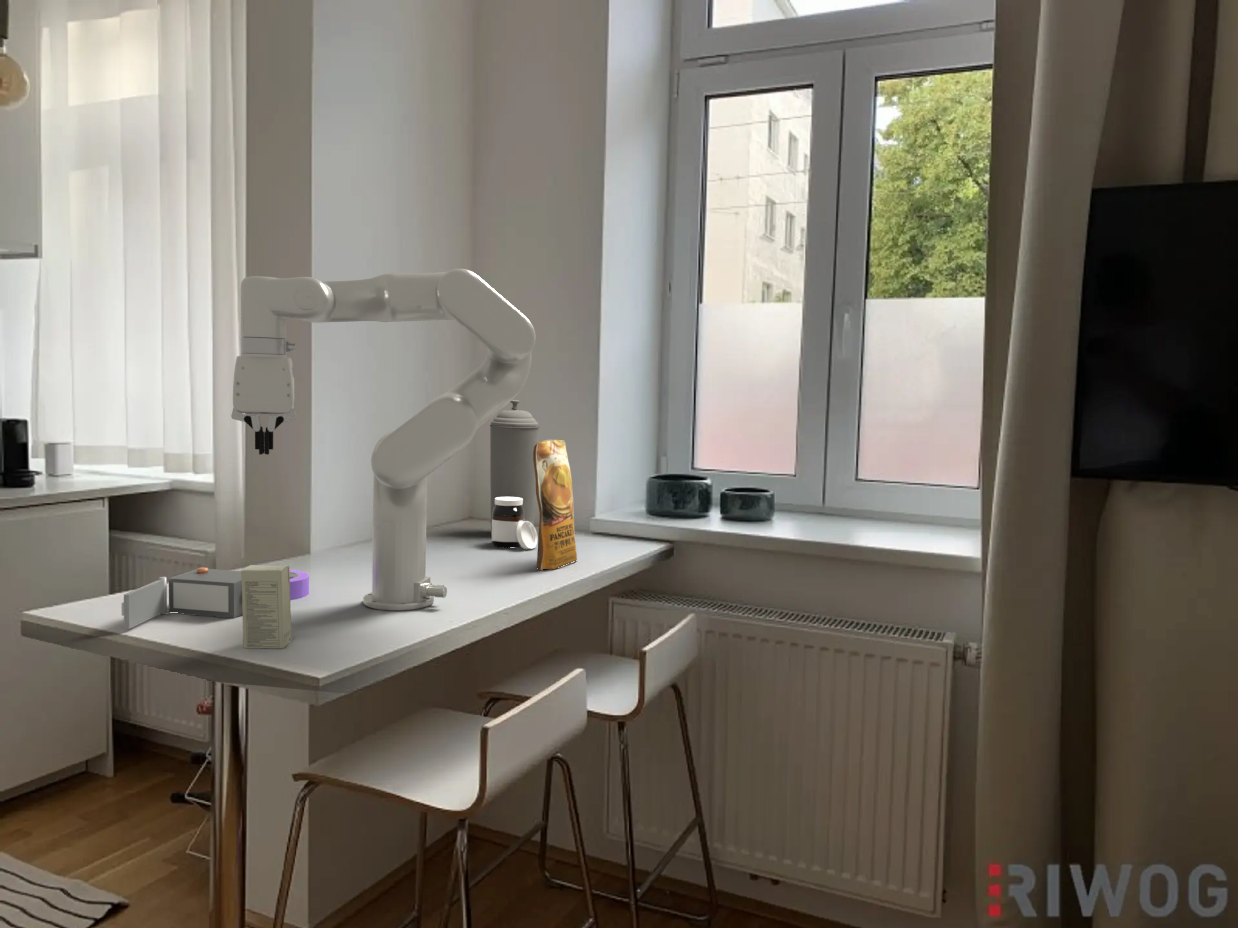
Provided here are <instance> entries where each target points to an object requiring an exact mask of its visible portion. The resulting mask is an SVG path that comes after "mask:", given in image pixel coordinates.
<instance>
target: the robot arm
mask: <svg viewBox="0 0 1238 928" xmlns="http://www.w3.org/2000/svg"><path fill="white" fill-rule="evenodd" d="M288 318H289V319H295V320H301V321H304V322H308V323H317V324H318V323H321V324H323V323H347V322H352V323H353V322H380V323H397V322H399V323H400V322H417V321H418V322H421V321H423V322H425V321H426V322H427V321H429V322H430V321H456V322H457V323H458V324H459V325H460V326H461V327H462V328H464V329H465V330H466V331H467V332H469V334H471V335H472V336H473V337H474V338H475V339H476V340H478V341H479V342H480V343H481V344H482V345H484V346H485V347H486V349H487V353H486V356H485V358H484V361H483V362H482V363H481V364H480V365H479V366H478V367H477V368H475V369H474V370H473V371H472V372H470V373H469V374H468V375H467V376H466V377H465V378H464V379H463V380H461V381H459V382H458V383H456V384H455V385H454V386H453V387H452V388H449V389H448V390H447V391H446V392H444V393H442V394H441V395H439V396H436V397H435V398H433V399H432V400H431V401H430V402H429V403H428V404H427V405H426V406H425V407H424V408H423V409H421V410H420V411H419V412H417V413H416V414H414V415H413V416H411V417H410V418H409V419H408V420H407V421H405V422H404V423H402V425H400V426H399V427H397V428H396V429H395V430H392V431H389V432H387V433H385V434H384V435H383V436H381V437H380V438H379V440H378V441H377V442H376V444H375V446H374V448H373V450H372V453H371V458H370V462H371V463H370V464H371V469H372V472H373V488H372V489H373V490H372V491H373V493H372V494H373V496H372V499H373V500H372V504H373V505H372V557H371V559H372V560H371V561H372V565H371V566H372V567H371V568H372V569H371V571H372V573H371V574H372V577H371V592H369V593H366V594H365V595H364V596H363V598H362V602H363V605H365V606H366V607H368V608H371V609H375V610H382V611H383V610H384V611H409V610H410V611H411V610H417V609H423V608H425V607H429V606H431V605H432V604H434V602H435V599H434V598H443V599H445V598H446V597H447V593H448V590H447V589H448V588H447V587H446V586H445V585H444V584H443V585H442V584H441V585H440V584H433V583H432V582H431V577H430V576H426V562H427V561H426V560H427V558H426V557H427V556H426V555H427V517H428V512H427V511H428V510H427V509H428V476H429V475H430V474H431V473H433V472H434V471H435V470H438V468H439V467H441V466H442V465H443V464H445V463H446V462H448V461H449V460H450V459H451V458H453V457H454V456H455V455H457V454H458V453H460V451H462V450H463V449H464V448H465V447H466V446H467V445H468V444H469V443H470V442H471V441H472V440H473V438H474V437H475V435H476V432H477V430H478V429H479V428H480V427H481V426H482V425H483V424H485V423H486V422H487V421H489V420H490V419H491V418H492V417H494V416H495V415H496V414H498V412H500V411H502V410H503V408H504V407H506V406H507V405H508V404H509V403H511V402H510V401H511V400H514V399H515V398H516V396H518V394H520V392H521V391H522V389H523V388H524V386H525V384H526V382H527V380H528V377H529V374H530V370H531V366H532V360H533V359H532V358H533V357H532V351H533V349H534V347H535V344H536V338H537V335H536V330H535V327H534V325H533V324H532V322H531V321H530V320H529V318H527V316H526V315H524V313H522V312H521V311H520V310H518V309H517V308H516V307H515V306H514V305H513V304H512V303H510V302H509V301H508V300H507V299H506V298H504V297H503V296H502V295H501V294H500V293H499V292H497V291H496V290H495V288H493V287H491V285H489V283H487V282H486V281H485V280H484V279H483V278H482V277H480V276H479V275H478V274H476V273H475V272H474V271H472V270H469V269H466V268H453V269H451V270H449V271H443V272H441V271H440V272H438V271H436V272H435V271H434V272H392V273H384V274H380V275H377V276H374V277H371V278H366V279H356V280H319V279H317V278H315V277H311V276H298V277H289V278H288V277H286V278H285V277H284V278H283V277H282V278H278V277H274V276H273V277H272V276H261V275H256V276H255V275H254V276H253V275H252V276H245V277H244V278H243V279H242V281H241V283H240V355H237V356H236V359H235V365H234V372H233V381H232V382H233V383H232V406H233V407H232V410H231V411H232V412H231V415H230V416H231V419H232V420H236V421H239V422H242V423H246V424H247V425H248V426H249V427H250V428H251V429H252V430H253V431H254V449H255V450H258V455H264V454H265V455H267V456H268V455H269V454H270V450H274V431H275V430H276V429H277V428H278V427H280V426H281V424H283V423H286V422H292V421H295V420H296V419H297V414H296V410H295V406H296V392H295V391H296V390H295V389H296V388H295V374H294V373H295V371H294V365H293V361H292V358H291V357H287V356H288V353H289V352H292V351H293V352H295V351H296V343H294V342H289V340H288V341H287V336H288V335H287V334H288V333H287V331H288V330H287V328H288V327H287V326H288V325H287V319H288ZM248 414H249V415H248ZM260 415H269V417H268V422H267V427H265V431H264V429H263V426H262V425H261V423H262V422H261V418H260Z"/></svg>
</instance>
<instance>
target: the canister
mask: <svg viewBox="0 0 1238 928" xmlns="http://www.w3.org/2000/svg"><path fill="white" fill-rule="evenodd" d="M520 402H521V401H520V400H519V399H518V400H517V399H512V400H511V401H510V402H509V403H511V404H512V407H511V409H506V410H505V409H504V410H500V411H499V413H497V415H496V417H494V418H493V420H492V421H491V422H490V424H489V426H490V429H489V430H490V437H489V438H490V441H489V442H490V447H489V449H490V453H489V454H490V459H489V461H490V467H489V468H490V470H489V472H490V533H491V534H492V512H493V509H494V507H495V498H497V497H519V498H522V499H523V504H522V507H523V509H524V521H529V522H531V523H532V524H533V525H535V524H534V523H535V521H534V520H535V507H536V506H535V503H536V478H535V469H534V462H533V451H534V446H535V445H536V443H537V442H539V430H540V429H539V428H540V425H539V422H538V421H537V420H536V419H535V418H534V417H533V414H531V412H529V411H527V410H521V409H520V410H519V408H518V404H519V403H520Z"/></svg>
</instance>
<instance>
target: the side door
mask: <svg viewBox="0 0 1238 928" xmlns="http://www.w3.org/2000/svg"><path fill="white" fill-rule="evenodd" d="M167 579H168V578H167V576H159V577H158V580H155V581H153V582H150V583H148V584H145V585H143V586H140V587H139V588H136V589H134V590H131V591H130V592H126V593H124V594H123V602H121V616H122V617H123V629H125V630H130V629H132V628H135V627H136V626H138V625H140V624H142V623H145V622H146V621H148V620H150V619H152V618H154V617H156V616H159V615H167V614H168V599H167V598H168V592H167V591H168V589H167V588H168V585H167V584H168V583H167V581H168V580H167ZM166 613H167V614H166Z"/></svg>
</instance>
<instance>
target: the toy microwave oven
mask: <svg viewBox="0 0 1238 928" xmlns="http://www.w3.org/2000/svg"><path fill="white" fill-rule="evenodd" d="M169 612H178V613H184V614H183V615H188V614H195V615H194V616H200V617H202V616H203V617H213V616H216V617H215V618H229V619H236V618H238V617H240V616H243V613H242V581H241V570H230V569H228V570H227V569H217V568H216V569H215V568H209V567H203V566H202V567H197V568H196V569H192V570H189V571H187V572H184V573H180V574H177V575H174V576H170V577H169V578H168V613H169Z"/></svg>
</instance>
